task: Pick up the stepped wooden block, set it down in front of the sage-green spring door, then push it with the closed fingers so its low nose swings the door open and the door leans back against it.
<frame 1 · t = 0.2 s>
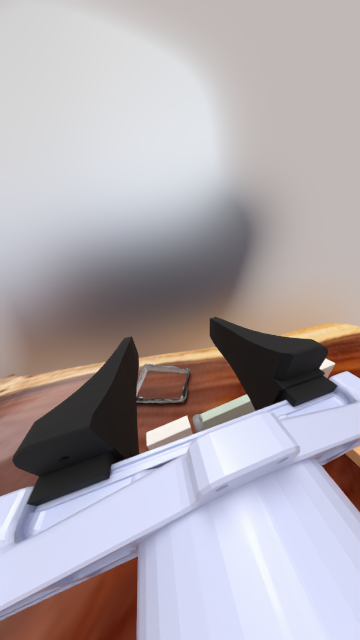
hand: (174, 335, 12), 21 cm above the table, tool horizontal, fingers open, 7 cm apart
door frame: (202, 438, 22), on the table
door: (251, 403, 22), point 3 cm above the table, hinge at 0.0°
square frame: (163, 388, 32), on the table
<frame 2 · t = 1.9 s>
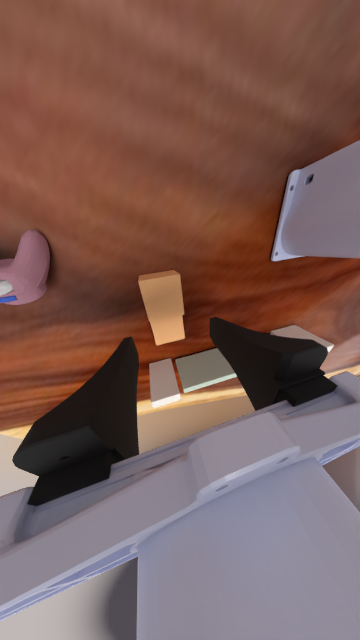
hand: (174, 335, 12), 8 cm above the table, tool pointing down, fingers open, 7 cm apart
door frame: (264, 335, 28), on the table
door: (233, 359, 24), point 3 cm above the table, hinge at 0.0°
stepped wooden block: (163, 307, 19), on the table
pink elongated piece: (1, 259, 13), on the table
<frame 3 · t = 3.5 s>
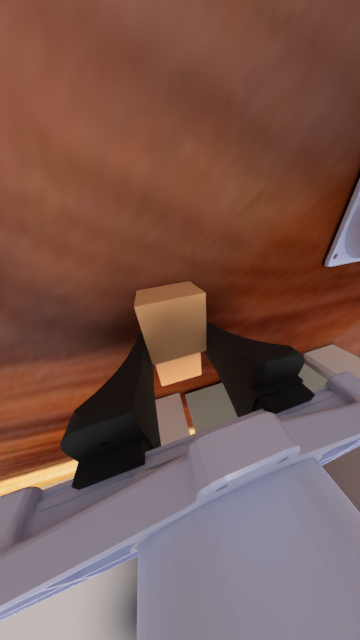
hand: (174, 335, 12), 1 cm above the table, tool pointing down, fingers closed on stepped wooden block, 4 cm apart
door frame: (296, 358, 22), on the table
door: (263, 395, 18), point 3 cm above the table, hinge at 0.0°
stepped wooden block: (172, 333, 13), on the table, touching gripper
when the fingers open (2 cm above the table, at t = 7.6 s): stepped wooden block stays where it is, on the table.
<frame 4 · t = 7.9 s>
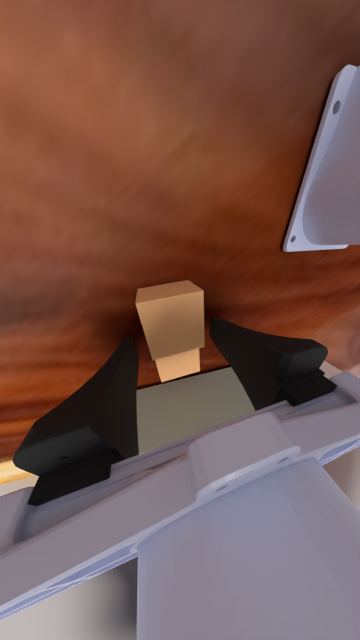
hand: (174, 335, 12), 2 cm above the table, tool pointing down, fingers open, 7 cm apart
door: (217, 397, 16), point 3 cm above the table, hinge at 0.0°
stepped wooden block: (171, 330, 14), on the table
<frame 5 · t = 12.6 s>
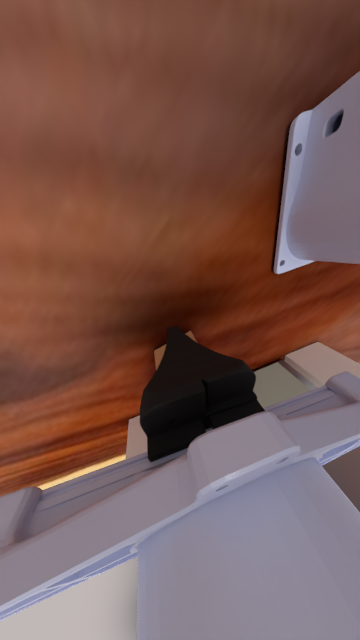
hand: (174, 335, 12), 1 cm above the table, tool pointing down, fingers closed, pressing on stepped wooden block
door frame: (277, 361, 21), on the table
door: (237, 406, 18), point 3 cm above the table, hinge at 0.0°
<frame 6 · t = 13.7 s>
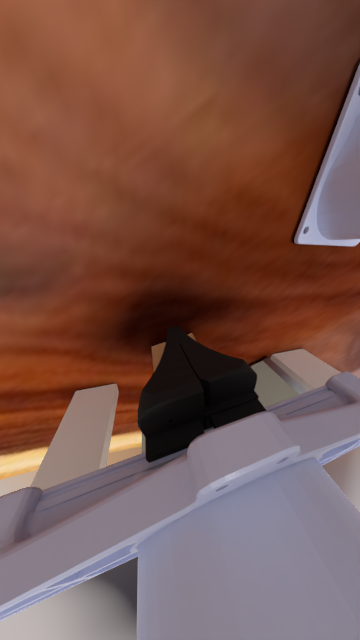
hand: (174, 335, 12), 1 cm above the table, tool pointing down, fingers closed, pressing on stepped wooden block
door frame: (263, 359, 20), on the table
door: (218, 411, 17), point 3 cm above the table, hinge at 22.0°, touching stepped wooden block
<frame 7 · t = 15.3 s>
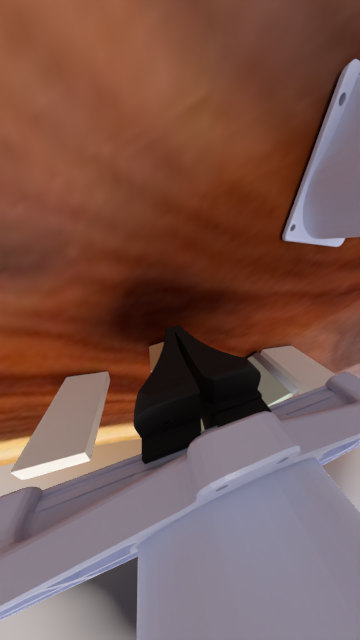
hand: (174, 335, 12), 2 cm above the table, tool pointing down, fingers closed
door frame: (253, 354, 20), on the table
door: (211, 407, 18), point 3 cm above the table, hinge at 31.3°, touching stepped wooden block
stepped wooden block: (177, 368, 18), on the table, touching door
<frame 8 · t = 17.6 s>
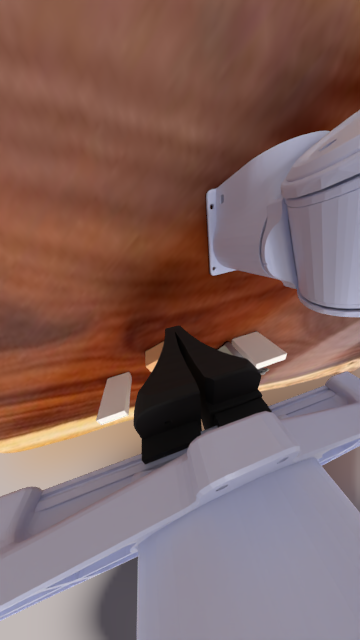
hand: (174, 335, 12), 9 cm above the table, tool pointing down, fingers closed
door frame: (226, 343, 28), on the table
door: (197, 383, 26), point 3 cm above the table, hinge at 26.7°, touching stepped wooden block
stepped wooden block: (169, 361, 26), on the table, touching door
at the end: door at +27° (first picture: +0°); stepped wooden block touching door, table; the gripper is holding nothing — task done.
